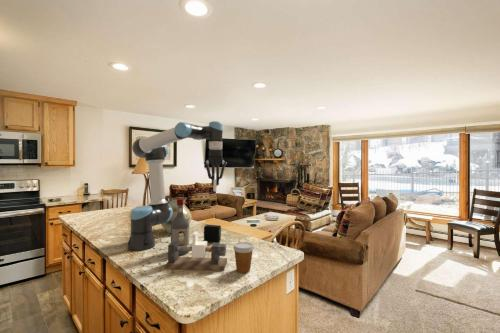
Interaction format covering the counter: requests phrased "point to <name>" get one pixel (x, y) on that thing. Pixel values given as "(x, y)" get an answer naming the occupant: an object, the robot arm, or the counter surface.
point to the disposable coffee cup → (243, 256)
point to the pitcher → (175, 213)
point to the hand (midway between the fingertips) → (215, 191)
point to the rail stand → (193, 262)
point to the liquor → (180, 228)
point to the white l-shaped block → (198, 246)
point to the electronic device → (212, 233)
